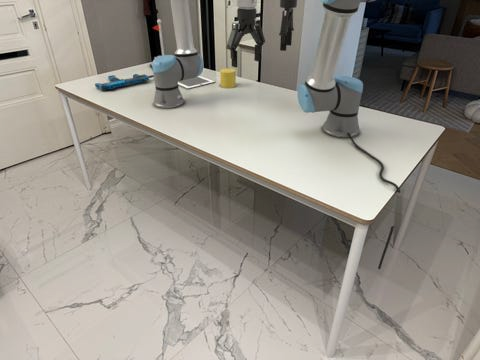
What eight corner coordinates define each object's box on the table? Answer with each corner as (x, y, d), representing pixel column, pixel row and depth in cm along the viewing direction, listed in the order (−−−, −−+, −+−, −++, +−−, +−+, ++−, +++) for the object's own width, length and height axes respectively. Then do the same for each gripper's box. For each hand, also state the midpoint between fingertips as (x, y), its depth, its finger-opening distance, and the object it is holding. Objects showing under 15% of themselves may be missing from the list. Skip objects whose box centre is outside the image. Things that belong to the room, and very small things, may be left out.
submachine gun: (139, 68, 225) (158, 74, 208) (140, 74, 226) (158, 80, 210) (87, 78, 206) (103, 86, 189) (89, 84, 208) (104, 92, 191)
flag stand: (171, 62, 250) (166, 17, 233) (175, 66, 239) (170, 20, 223) (153, 63, 246) (147, 18, 229) (157, 68, 235) (150, 21, 219)
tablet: (160, 77, 218) (160, 76, 218) (186, 71, 229) (186, 70, 229) (187, 89, 198) (187, 88, 198) (215, 82, 209) (215, 81, 209)
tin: (230, 82, 209) (230, 67, 204) (238, 86, 203) (238, 71, 198) (217, 84, 205) (217, 69, 200) (225, 88, 199) (225, 73, 194)
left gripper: (229, 11, 122) (230, 71, 134) (275, 6, 136) (272, 60, 148) (216, 9, 126) (218, 67, 138) (261, 4, 141) (259, 57, 153)
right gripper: (285, -5, 162) (283, 42, 173) (274, -1, 142) (272, 52, 153) (301, -4, 160) (297, 43, 172) (292, -1, 140) (288, 53, 151)
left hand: (246, 63), depth 143 cm, fingers open, 13 cm apart
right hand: (285, 47), depth 162 cm, fingers open, 13 cm apart
